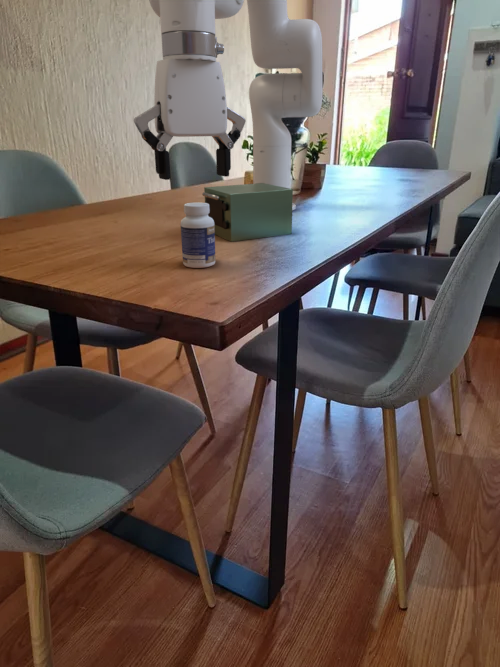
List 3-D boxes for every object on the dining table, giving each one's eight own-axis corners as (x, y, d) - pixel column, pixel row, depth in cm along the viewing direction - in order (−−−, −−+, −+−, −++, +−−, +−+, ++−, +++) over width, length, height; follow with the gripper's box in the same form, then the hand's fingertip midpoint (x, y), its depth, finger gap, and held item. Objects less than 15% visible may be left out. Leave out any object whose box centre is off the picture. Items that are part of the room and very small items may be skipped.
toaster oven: (200, 231, 108) (198, 187, 104) (262, 224, 115) (262, 182, 111) (225, 242, 98) (224, 194, 95) (291, 234, 105) (292, 189, 101)
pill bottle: (214, 268, 81) (212, 206, 77) (181, 269, 81) (177, 207, 77) (216, 260, 86) (214, 201, 82) (184, 260, 86) (181, 201, 82)
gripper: (231, 57, 78) (233, 173, 85) (121, 50, 71) (132, 178, 77) (255, 51, 72) (255, 176, 79) (137, 43, 65) (148, 182, 71)
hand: (194, 177), depth 78 cm, fingers open, 9 cm apart
